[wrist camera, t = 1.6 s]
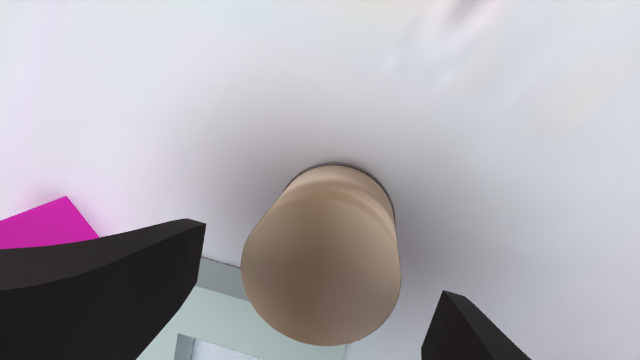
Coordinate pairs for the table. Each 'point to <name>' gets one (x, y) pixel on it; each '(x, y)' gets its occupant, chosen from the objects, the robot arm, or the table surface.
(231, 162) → the table surface
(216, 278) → the board
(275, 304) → the beige rounded lump
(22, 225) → the toy block
